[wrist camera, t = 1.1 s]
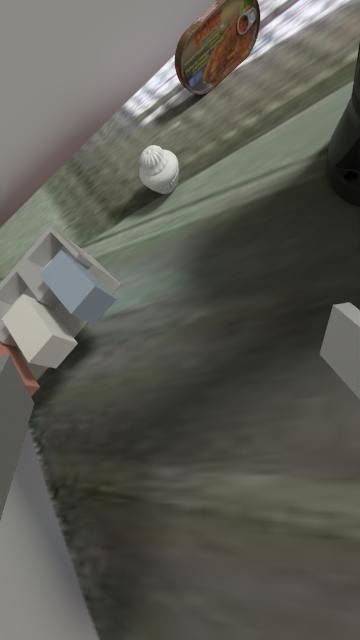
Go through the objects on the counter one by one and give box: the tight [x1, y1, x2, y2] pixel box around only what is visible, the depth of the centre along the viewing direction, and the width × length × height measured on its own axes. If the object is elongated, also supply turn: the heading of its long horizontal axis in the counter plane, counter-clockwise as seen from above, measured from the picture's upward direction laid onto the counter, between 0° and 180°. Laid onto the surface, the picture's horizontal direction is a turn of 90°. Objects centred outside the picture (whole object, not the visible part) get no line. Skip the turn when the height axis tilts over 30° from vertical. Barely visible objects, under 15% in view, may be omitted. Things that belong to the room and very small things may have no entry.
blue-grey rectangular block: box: [40, 250, 116, 325], centre depth 35 cm, size 4×8×4 cm, turn 45°
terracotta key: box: [0, 341, 40, 397], centre depth 35 cm, size 4×8×4 cm, turn 45°
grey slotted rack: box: [0, 225, 121, 381], centre depth 42 cm, size 20×8×9 cm, turn 135°
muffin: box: [140, 145, 179, 194], centre depth 44 cm, size 6×6×7 cm
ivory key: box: [2, 294, 78, 368], centre depth 35 cm, size 4×8×4 cm, turn 45°
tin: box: [175, 0, 260, 95], centre depth 46 cm, size 15×3×8 cm, turn 125°
